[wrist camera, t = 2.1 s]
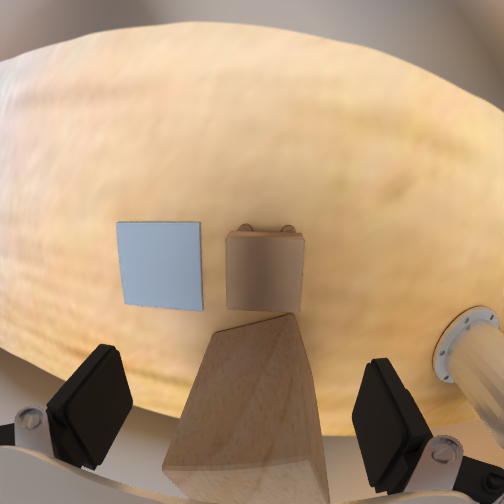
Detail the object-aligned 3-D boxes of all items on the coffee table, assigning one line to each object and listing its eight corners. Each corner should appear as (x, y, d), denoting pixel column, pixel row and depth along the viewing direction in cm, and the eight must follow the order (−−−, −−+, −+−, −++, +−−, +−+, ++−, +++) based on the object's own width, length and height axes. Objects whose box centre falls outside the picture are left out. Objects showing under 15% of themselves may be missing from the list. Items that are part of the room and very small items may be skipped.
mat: (200, 222, 30) (199, 222, 30) (203, 309, 33) (202, 311, 32) (118, 222, 31) (116, 222, 30) (127, 302, 33) (124, 304, 33)
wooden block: (239, 392, 35) (215, 523, 16) (211, 332, 33) (157, 470, 14) (312, 376, 34) (331, 513, 15) (293, 311, 32) (310, 460, 13)
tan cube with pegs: (296, 224, 30) (304, 240, 22) (293, 279, 31) (299, 312, 23) (238, 222, 30) (225, 237, 22) (238, 277, 31) (226, 309, 24)
